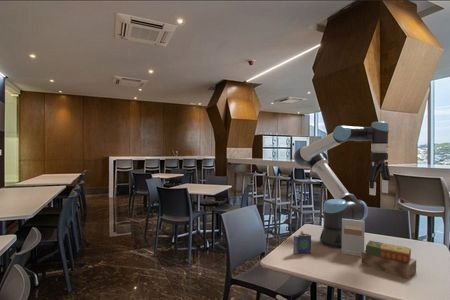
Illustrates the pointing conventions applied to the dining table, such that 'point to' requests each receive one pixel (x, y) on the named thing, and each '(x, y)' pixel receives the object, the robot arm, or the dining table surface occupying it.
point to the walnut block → (389, 265)
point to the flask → (302, 244)
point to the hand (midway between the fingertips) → (378, 193)
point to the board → (352, 237)
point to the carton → (388, 251)
